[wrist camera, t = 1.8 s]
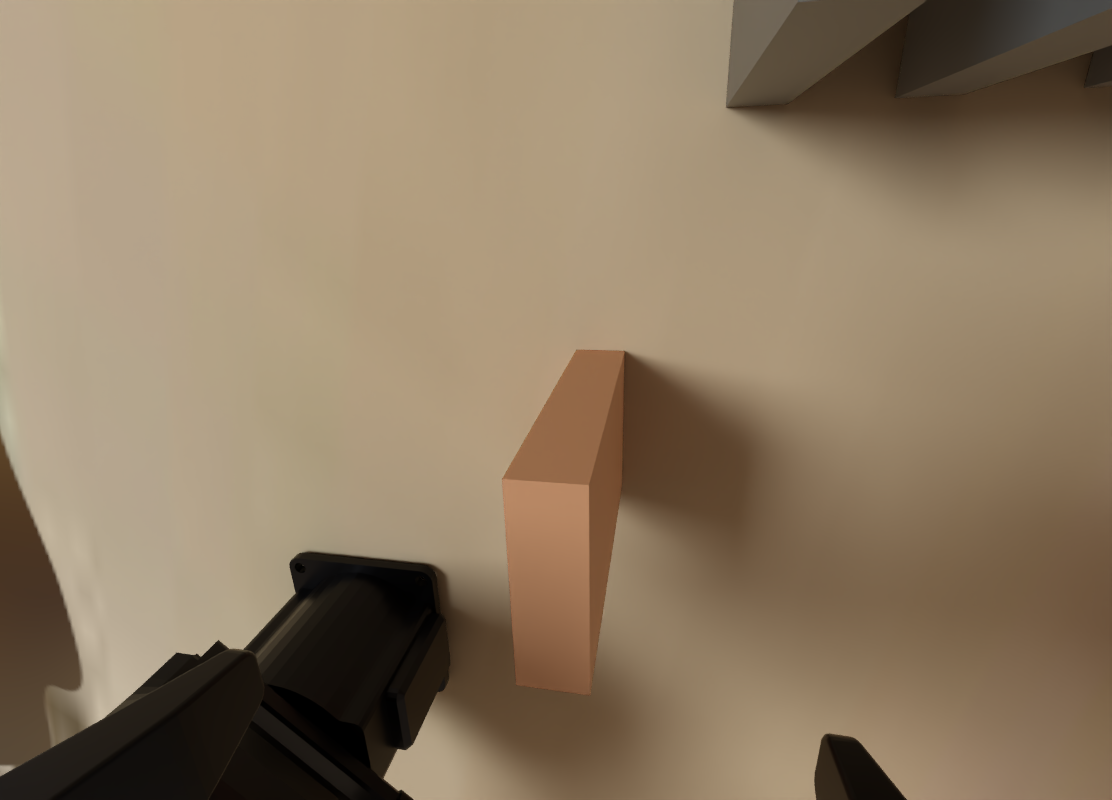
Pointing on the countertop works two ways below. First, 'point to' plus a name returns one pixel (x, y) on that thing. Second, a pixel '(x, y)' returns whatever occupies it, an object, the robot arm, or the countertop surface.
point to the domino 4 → (1100, 69)
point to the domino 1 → (565, 523)
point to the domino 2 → (799, 43)
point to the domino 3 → (995, 41)
